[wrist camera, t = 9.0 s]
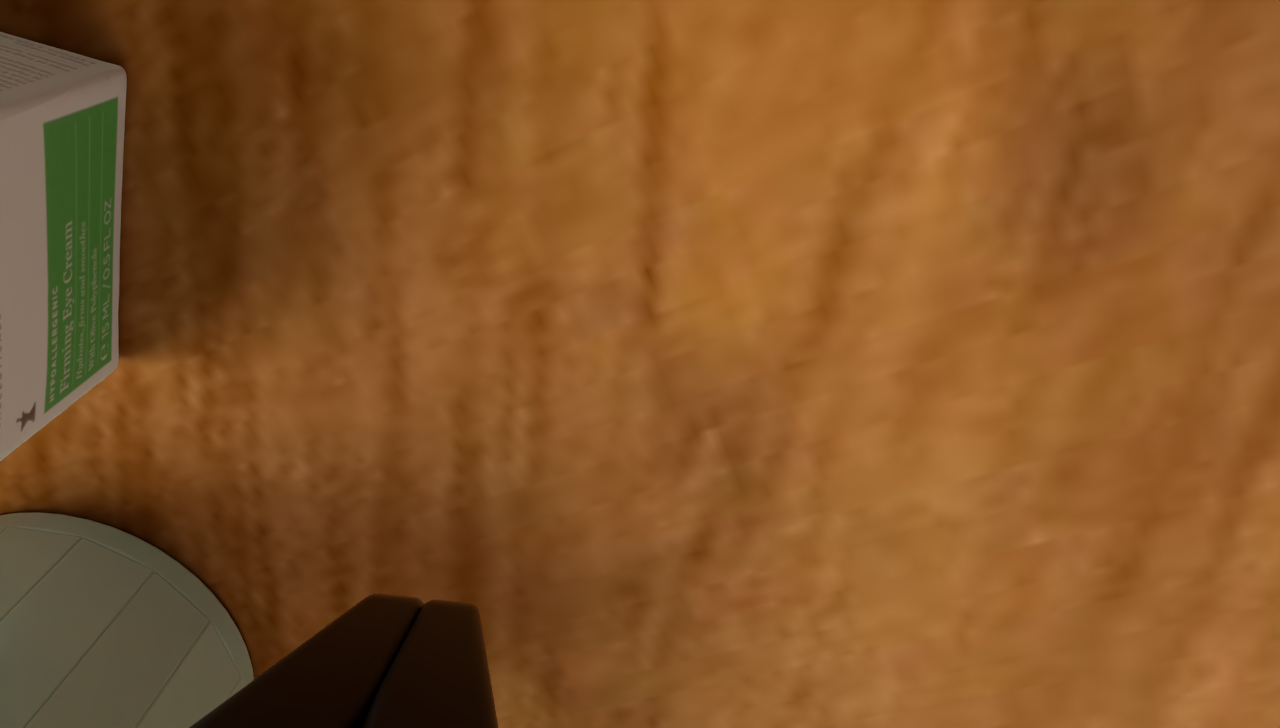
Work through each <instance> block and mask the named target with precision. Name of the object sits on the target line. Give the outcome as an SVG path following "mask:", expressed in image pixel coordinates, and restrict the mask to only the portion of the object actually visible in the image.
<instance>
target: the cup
mask: <svg viewBox="0 0 1280 728" xmlns="http://www.w3.org/2000/svg"><path fill="white" fill-rule="evenodd" d="M253 680H254V676H253V668H252V663H251V660H250V657H249V653H248V650H247V647H246V645H245V642H244V640H243V638H242V636H241V634H240V631H239V629H238V628H237V626H236V624H235V623H234V621H233V620H232V618H231V616H230V615H229V613H228V612H227V610H226V609H225V608H224V606H223V605H222V604H221V603H220V601H219V600H218V599H217V598H216V596H215V595H214V594H213V593H212V592H211V591H210V590H209V589H208V588H207V587H206V586H205V585H204V584H203V583H202V582H201V581H200V580H199V579H198V578H197V577H196V576H195V575H194V574H192V573H191V572H190V571H189V570H187V569H186V568H185V567H184V566H183V565H181V564H180V563H179V562H178V561H176V560H175V559H173V558H172V557H170V556H168V555H167V554H165V553H164V552H162V551H161V550H159V549H158V548H156V547H154V546H152V545H151V544H149V543H147V542H145V541H143V540H141V539H139V538H137V537H136V536H133V535H131V534H129V533H126V532H124V531H121V530H119V529H116V528H114V527H112V526H108V525H105V524H102V523H99V522H95V521H92V520H89V519H84V518H79V517H74V516H69V515H64V514H54V513H43V512H28V513H12V514H5V515H0V728H189V727H190V726H192V725H193V724H195V723H196V722H197V721H199V720H200V719H201V718H203V717H204V716H205V715H207V714H208V713H210V712H211V711H212V710H214V709H215V708H216V707H218V706H219V705H220V704H222V703H223V702H224V701H226V700H227V699H229V698H230V697H231V696H233V695H234V694H235V693H237V692H238V691H239V690H241V689H242V688H244V687H245V686H246V685H248V684H249V683H250V682H252V681H253Z"/></svg>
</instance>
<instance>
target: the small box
mask: <svg viewBox="0 0 1280 728" xmlns="http://www.w3.org/2000/svg"><path fill="white" fill-rule="evenodd" d="M126 91H127V75H126V72H125V70H124V69H123V68H122V67H121V66H119V65H116V64H111V63H107V62H104V61H100V60H97V59H93V58H90V57H87V56H83V55H80V54H76V53H73V52H69V51H66V50H62V49H59V48H55V47H52V46H48V45H45V44H41V43H38V42H34V41H31V40H27V39H24V38H20V37H17V36H13V35H10V34H7V33H3V32H0V461H2V460H3V459H4V458H5V457H7V456H8V455H9V454H10V453H12V452H13V451H14V450H15V449H17V448H18V447H19V446H20V445H21V444H23V443H24V442H26V441H27V440H28V439H29V438H31V437H32V436H33V435H34V434H35V433H37V432H38V431H39V430H41V429H42V428H43V427H44V426H45V425H47V424H48V423H49V422H51V421H52V420H53V419H54V418H56V417H57V416H58V415H60V414H61V413H62V412H63V411H65V410H66V409H67V408H68V407H69V406H71V405H72V404H73V403H74V402H76V401H77V400H78V399H79V398H81V397H82V396H83V395H85V394H86V393H87V392H88V391H90V390H91V389H92V388H93V387H95V386H96V385H97V384H99V383H100V382H101V381H102V380H104V379H105V378H106V377H107V376H108V375H110V374H111V373H112V372H114V370H115V369H116V368H117V367H118V363H119V347H118V338H119V327H118V308H119V283H120V233H121V199H122V178H123V153H124V132H125V112H126Z"/></svg>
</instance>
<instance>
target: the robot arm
mask: <svg viewBox="0 0 1280 728" xmlns="http://www.w3.org/2000/svg"><path fill="white" fill-rule="evenodd" d="M189 728H498V723H497V717H496V711H495V705H494V699H493V693H492V687H491V680H490V674H489V668H488V662H487V656H486V650H485V644H484V638H483V632H482V626H481V620H480V614H479V610H478V608H477V607H476V606H475V605H473V604H470V603H461V602H451V601H442V600H431V601H429V602H427V603H425V605H424V603H423V602H422V601H421V600H420V599H418V598H415V597H406V596H397V595H388V594H373V595H370V596H368V597H366V598H365V599H363V600H362V601H360V602H359V603H358V604H356V605H355V606H354V607H352V608H351V609H350V610H348V611H347V612H346V613H344V614H343V615H341V616H340V617H339V618H337V619H336V620H335V621H333V622H332V623H331V624H329V625H328V626H326V627H325V628H324V629H322V630H321V631H320V632H318V633H317V634H316V635H314V636H313V637H312V638H310V639H309V640H307V641H306V642H305V643H303V644H302V645H301V646H299V647H298V648H297V649H295V650H294V651H292V652H291V653H290V654H288V655H287V656H286V657H284V658H283V659H282V660H280V661H279V662H278V663H276V664H275V665H273V666H272V667H271V668H269V669H268V670H267V671H265V672H264V673H263V674H261V675H260V676H258V677H257V678H256V679H254V680H253V681H252V682H250V683H249V684H248V685H246V686H245V687H244V688H242V689H241V690H239V691H238V692H237V693H235V694H234V695H233V696H231V697H230V698H229V699H227V700H226V701H224V702H223V703H222V704H220V705H219V706H218V707H216V708H215V709H214V710H212V711H211V712H210V713H208V714H207V715H205V716H204V717H203V718H201V719H200V720H199V721H197V722H196V723H195V724H193V725H192V726H190V727H189Z"/></svg>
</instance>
